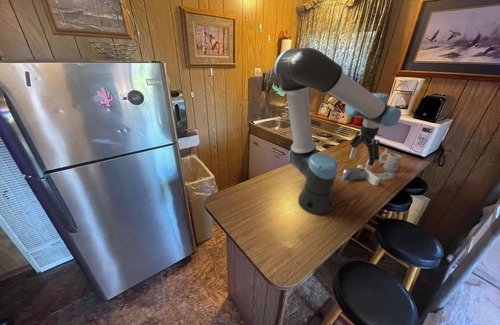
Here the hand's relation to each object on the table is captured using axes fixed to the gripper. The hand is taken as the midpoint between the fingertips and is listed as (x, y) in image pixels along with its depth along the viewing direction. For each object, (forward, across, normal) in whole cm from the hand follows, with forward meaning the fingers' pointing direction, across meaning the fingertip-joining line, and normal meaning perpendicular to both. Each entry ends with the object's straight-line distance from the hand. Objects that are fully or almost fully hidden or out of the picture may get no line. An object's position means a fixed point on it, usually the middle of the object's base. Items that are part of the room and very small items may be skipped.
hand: (359, 163), depth 108 cm
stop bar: (+10, 0, +1) cm, 10 cm away
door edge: (+10, 0, -7) cm, 12 cm away
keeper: (+10, 0, -15) cm, 18 cm away
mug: (+10, +9, -27) cm, 31 cm away
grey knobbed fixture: (+10, 0, +7) cm, 12 cm away
